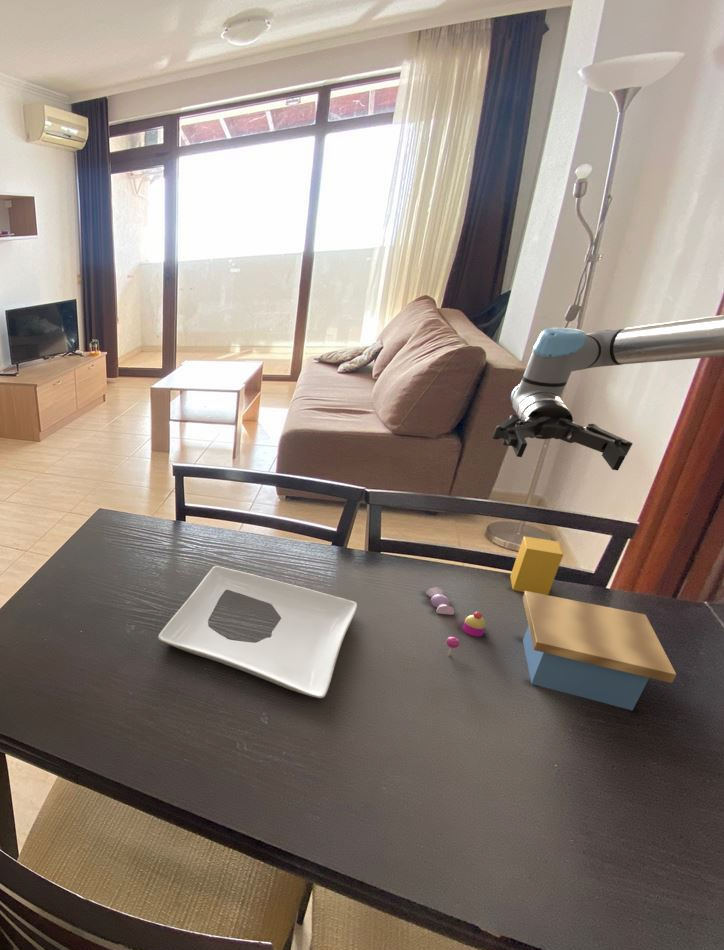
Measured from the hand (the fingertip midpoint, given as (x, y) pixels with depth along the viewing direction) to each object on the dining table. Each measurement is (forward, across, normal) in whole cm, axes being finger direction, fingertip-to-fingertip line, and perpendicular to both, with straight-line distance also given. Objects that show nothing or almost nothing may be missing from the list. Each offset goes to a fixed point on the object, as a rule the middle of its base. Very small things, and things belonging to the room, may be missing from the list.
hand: (569, 456), depth 97 cm
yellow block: (+9, 0, -24) cm, 26 cm away
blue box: (+33, -2, -23) cm, 40 cm away
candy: (+27, +13, -24) cm, 39 cm away
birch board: (+33, -1, -15) cm, 36 cm away
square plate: (+42, +43, -26) cm, 65 cm away
